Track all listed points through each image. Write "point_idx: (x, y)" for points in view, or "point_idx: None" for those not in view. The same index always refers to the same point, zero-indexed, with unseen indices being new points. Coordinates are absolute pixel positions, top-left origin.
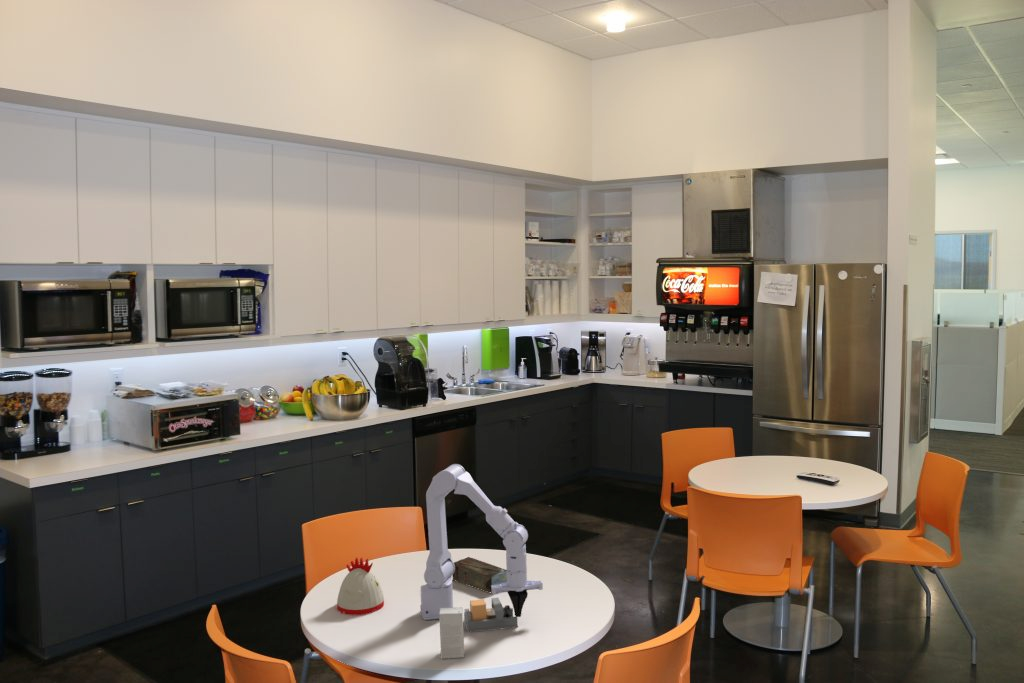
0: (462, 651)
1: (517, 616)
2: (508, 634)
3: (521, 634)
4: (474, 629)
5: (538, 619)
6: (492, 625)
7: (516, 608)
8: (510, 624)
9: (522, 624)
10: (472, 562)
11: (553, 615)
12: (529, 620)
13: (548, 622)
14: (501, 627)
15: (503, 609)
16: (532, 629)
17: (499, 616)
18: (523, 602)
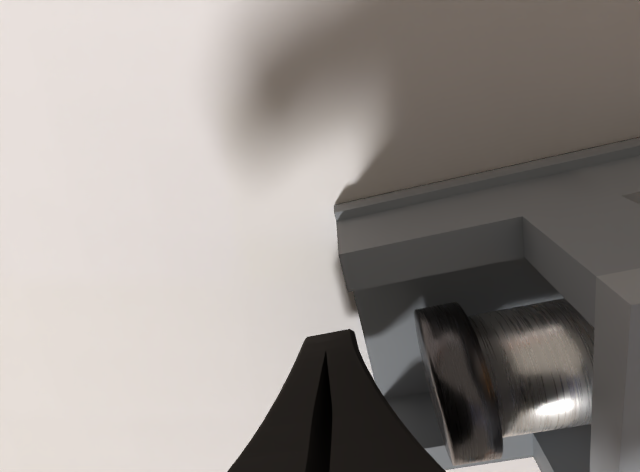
0: None
1: (338, 333)
2: (438, 11)
3: (284, 10)
4: None
5: (158, 356)
6: (629, 165)
7: (352, 390)
8: (412, 208)
9: (289, 265)
10: None
11: (51, 417)
12: (233, 340)
13: (56, 300)
14: (508, 171)
15: (530, 380)
16: (177, 150)
17: (601, 219)
18: (237, 469)
